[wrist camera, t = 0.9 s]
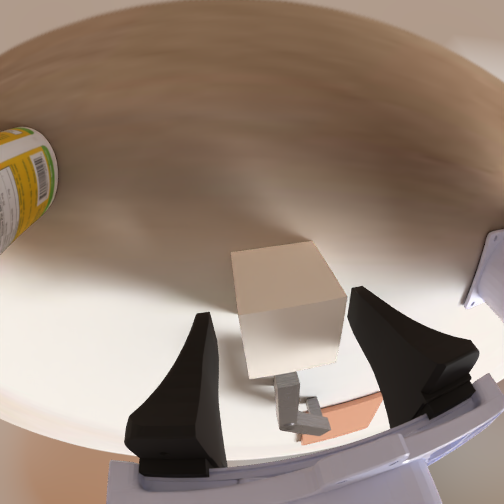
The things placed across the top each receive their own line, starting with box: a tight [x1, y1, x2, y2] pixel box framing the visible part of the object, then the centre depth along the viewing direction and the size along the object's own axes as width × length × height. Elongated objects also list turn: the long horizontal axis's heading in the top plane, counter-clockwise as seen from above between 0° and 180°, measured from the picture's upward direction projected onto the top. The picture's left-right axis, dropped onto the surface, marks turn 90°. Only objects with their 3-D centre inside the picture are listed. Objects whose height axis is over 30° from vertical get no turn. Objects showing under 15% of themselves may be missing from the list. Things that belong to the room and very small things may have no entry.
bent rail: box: [273, 371, 331, 436], centre depth 20 cm, size 5×10×4 cm, turn 5°
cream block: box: [230, 241, 347, 379], centre depth 14 cm, size 4×4×5 cm
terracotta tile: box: [301, 392, 383, 445], centre depth 28 cm, size 9×9×1 cm
